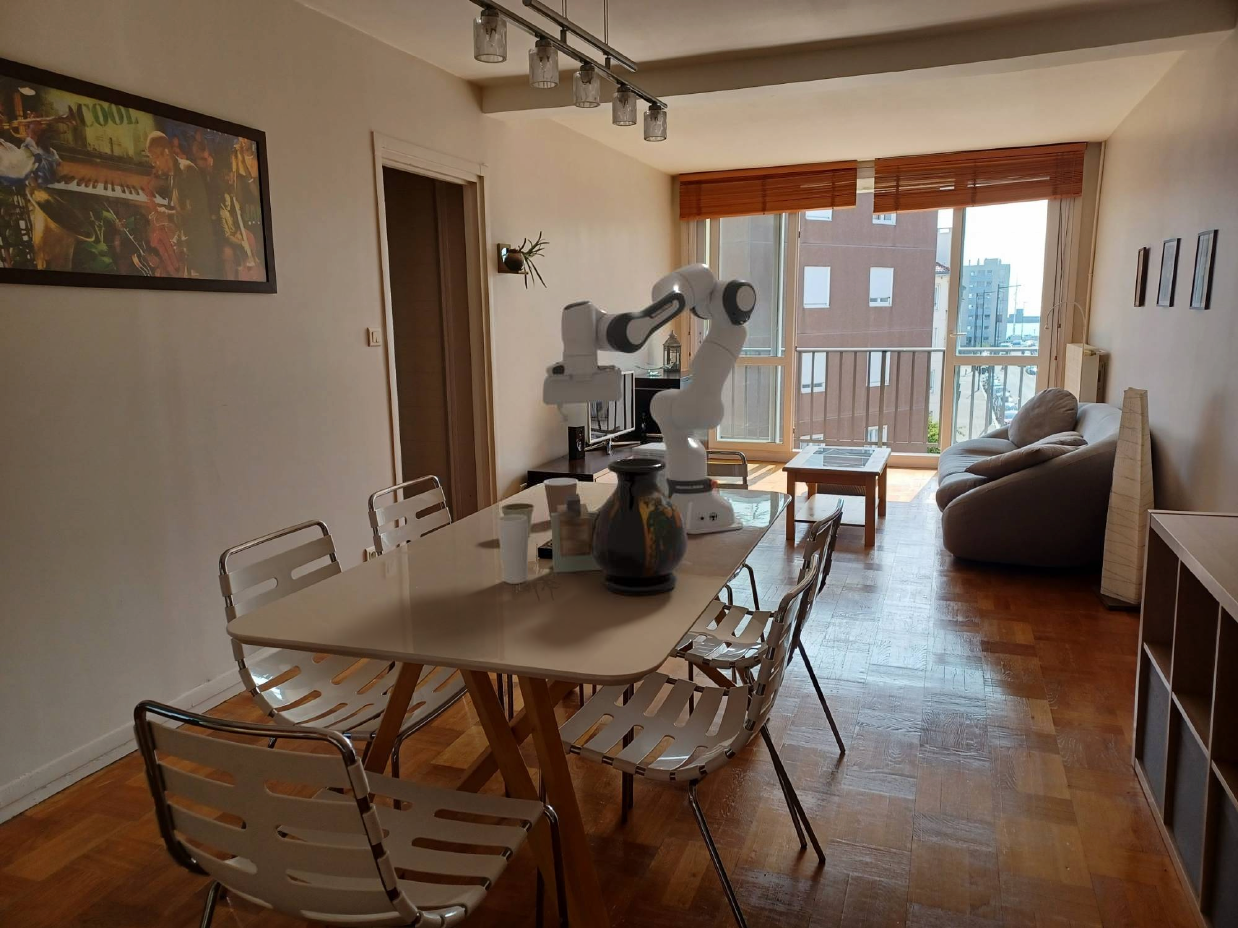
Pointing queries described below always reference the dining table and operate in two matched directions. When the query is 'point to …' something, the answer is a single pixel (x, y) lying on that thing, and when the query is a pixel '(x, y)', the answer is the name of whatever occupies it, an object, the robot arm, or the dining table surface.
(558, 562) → the board
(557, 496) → the coffee cup
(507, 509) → the flower pot
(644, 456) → the supplement box
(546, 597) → the dining table surface
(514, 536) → the drinking glass
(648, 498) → the amphora vase
